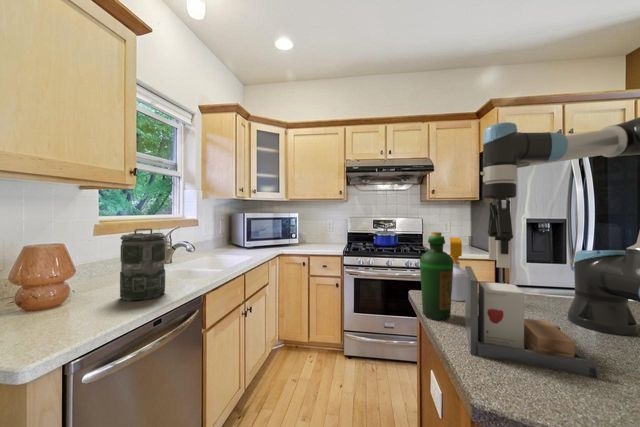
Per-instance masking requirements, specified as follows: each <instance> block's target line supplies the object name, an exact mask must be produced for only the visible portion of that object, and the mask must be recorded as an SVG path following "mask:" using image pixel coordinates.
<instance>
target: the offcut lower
mask: <svg viewBox="0 0 640 427" xmlns="http://www.w3.org/2000/svg"><path fill="white" fill-rule="evenodd" d="M524 346H526V348H527V350H532V351H538V352H544V353H550V354H557V355H563V356H569V357H574V355H568V354H561V353H554V352H547V351H539V350H537V349H536V348H535V347H534V346H533V345H532V344H531V342H530V341H529V340H528V339H527V338H526V337H525V336H524Z"/></svg>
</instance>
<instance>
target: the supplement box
mask: <svg viewBox="0 0 640 427" xmlns="http://www.w3.org/2000/svg"><path fill="white" fill-rule="evenodd" d="M524 319H525V292H524V291H523V290H522V289H521V288H519V286H517V285H516V284H511V283H510V284H509V283H499V282H487V281H478V337H479V339H480V342H484V343H490V344H496V345H502V346H508V347H514V348H520V349H525V344H524Z"/></svg>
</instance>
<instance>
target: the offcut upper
mask: <svg viewBox="0 0 640 427" xmlns="http://www.w3.org/2000/svg"><path fill="white" fill-rule="evenodd" d="M524 336H525V337H526V338H527V339H528V340H529V341H530V342H531V344H532V345H533V346H534V347H535V348H536V349H537V350H539V351H547V352H554V353H561V354H568V355H575V347H576V341H575V340H573V339H572V338H571V337H569V336H568V335H567V334H565V333H564V332H563V331H562V330H559V329H558V328H557V327H556V325H555V324H553V323H552V322H550V320H549V321H547V320H540V319H530V318H524Z"/></svg>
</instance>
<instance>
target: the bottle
mask: <svg viewBox="0 0 640 427" xmlns="http://www.w3.org/2000/svg"><path fill="white" fill-rule="evenodd" d="M427 244H429V250H428V251H426V252H425V253H423V254H422V255H421V257H420V258H419V269H420V270H419V271H420V286H421V303H422V305H421V306H422V315H423V316H425V317H426V318H429V319H430V320H436V321H446V320H449V319H451V312H452V311H451V310H452V309H451V308H452V300H451V297H452V280H453V263H454V260H453V258H452V257H451V256H450V255H449V254H450V253H447V252H445V251H444V244H446V241H445V236H444V235H442V231H441V232H440V231H438V232H437V231H432V232H431V235H429V236H428V240H427Z"/></svg>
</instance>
